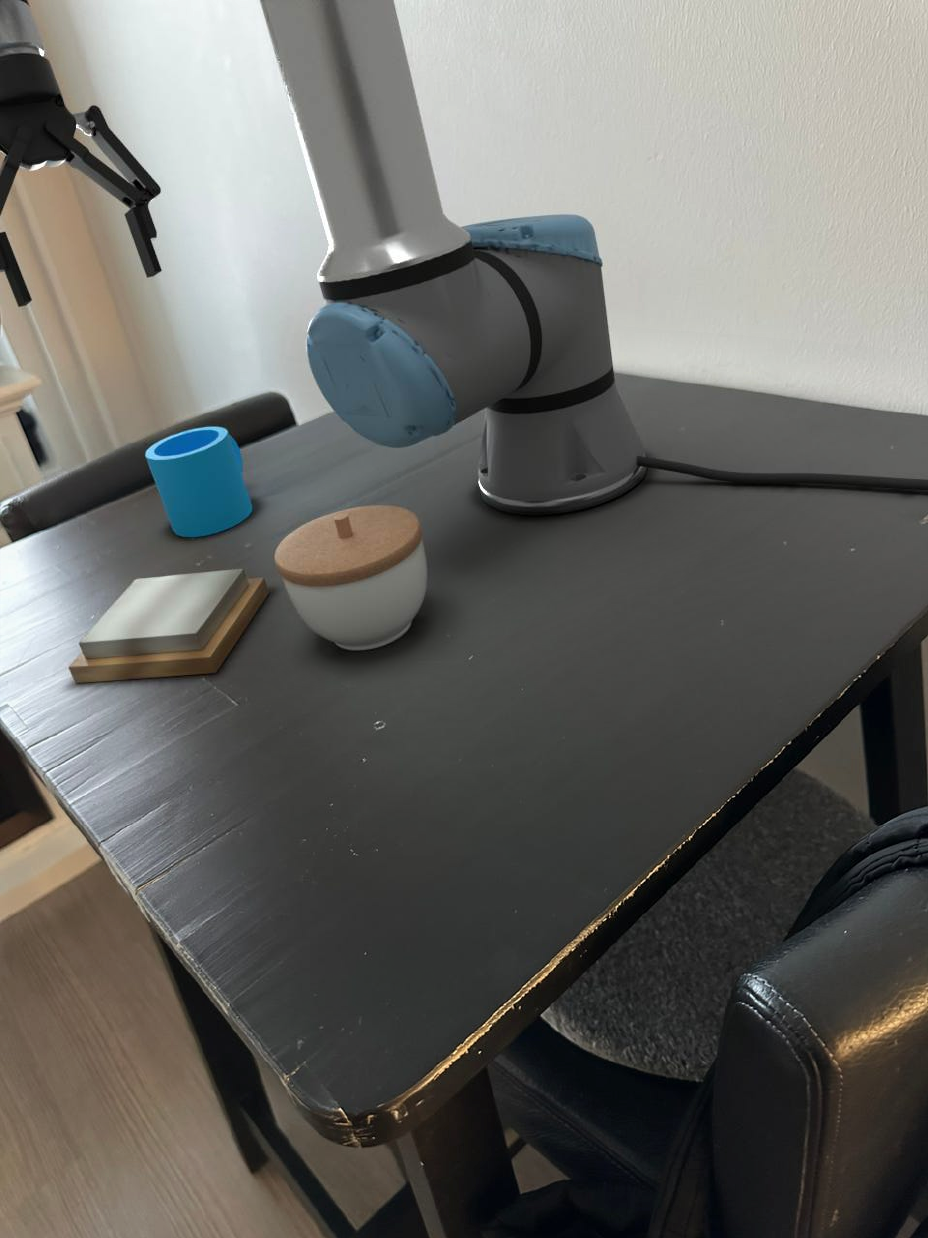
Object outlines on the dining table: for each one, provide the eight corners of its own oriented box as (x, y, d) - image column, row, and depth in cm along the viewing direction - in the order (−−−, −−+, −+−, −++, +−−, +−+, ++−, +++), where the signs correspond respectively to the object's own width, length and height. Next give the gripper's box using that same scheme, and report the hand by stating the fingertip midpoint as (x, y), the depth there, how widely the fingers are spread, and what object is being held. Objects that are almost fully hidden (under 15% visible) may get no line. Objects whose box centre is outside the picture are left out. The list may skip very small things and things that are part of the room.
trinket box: (274, 647, 78) (237, 537, 73) (375, 582, 84) (347, 476, 79) (368, 683, 71) (333, 564, 66) (471, 609, 77) (445, 495, 72)
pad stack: (269, 592, 86) (259, 561, 85) (216, 673, 76) (203, 639, 75) (142, 604, 89) (130, 574, 88) (75, 683, 79) (60, 651, 78)
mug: (229, 535, 99) (202, 456, 95) (158, 539, 101) (128, 462, 97) (281, 482, 108) (259, 409, 104) (215, 487, 111) (190, 416, 107)
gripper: (120, 65, 107) (191, 270, 113) (-135, 94, 95) (-41, 323, 100) (142, 36, 101) (216, 255, 107) (-128, 63, 89) (-28, 309, 94)
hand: (92, 288), depth 104 cm, fingers open, 13 cm apart
